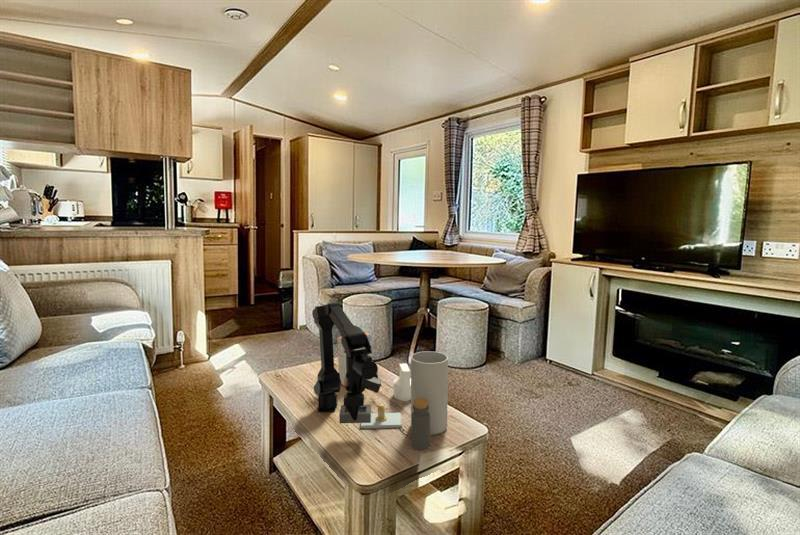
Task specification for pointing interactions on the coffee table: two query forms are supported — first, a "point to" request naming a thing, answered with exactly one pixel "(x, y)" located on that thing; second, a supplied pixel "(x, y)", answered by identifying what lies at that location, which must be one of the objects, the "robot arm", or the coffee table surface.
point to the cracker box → (343, 359)
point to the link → (362, 417)
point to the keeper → (383, 419)
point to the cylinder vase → (431, 386)
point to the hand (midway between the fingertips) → (355, 414)
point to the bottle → (420, 424)
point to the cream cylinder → (403, 383)
